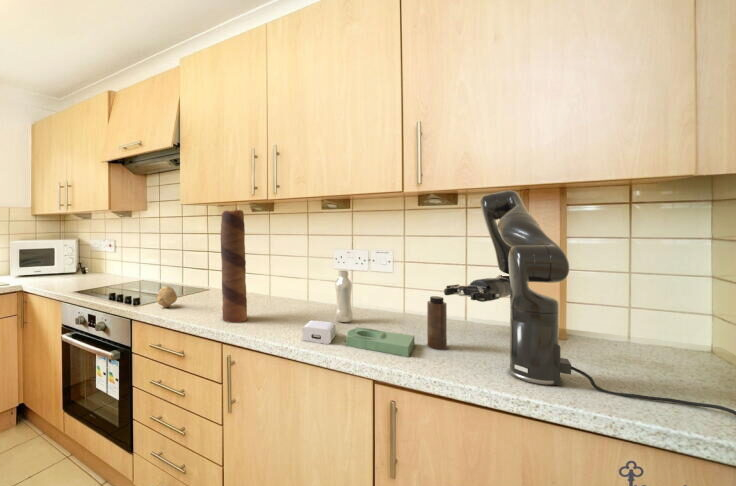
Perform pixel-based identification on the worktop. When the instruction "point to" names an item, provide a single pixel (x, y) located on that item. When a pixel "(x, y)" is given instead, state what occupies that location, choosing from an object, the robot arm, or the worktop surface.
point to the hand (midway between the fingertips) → (458, 294)
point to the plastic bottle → (343, 297)
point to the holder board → (380, 341)
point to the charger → (319, 332)
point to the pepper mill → (437, 323)
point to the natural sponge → (166, 296)
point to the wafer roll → (233, 266)
